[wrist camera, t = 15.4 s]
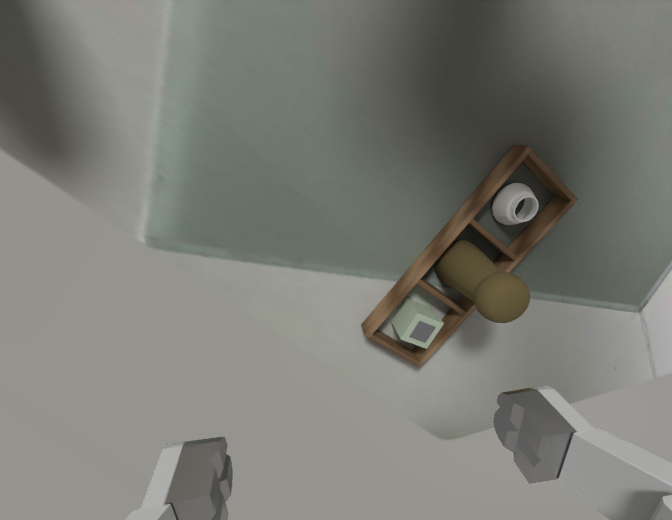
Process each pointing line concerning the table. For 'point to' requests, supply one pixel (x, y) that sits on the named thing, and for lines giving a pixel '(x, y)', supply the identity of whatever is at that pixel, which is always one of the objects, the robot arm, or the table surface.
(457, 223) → the organiser
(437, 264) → the cork
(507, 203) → the lidless jar
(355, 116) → the table surface
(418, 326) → the cube with grey panel
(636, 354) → the table surface
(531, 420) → the robot arm
